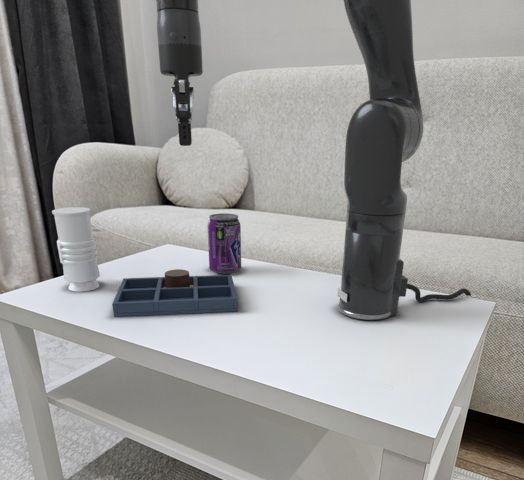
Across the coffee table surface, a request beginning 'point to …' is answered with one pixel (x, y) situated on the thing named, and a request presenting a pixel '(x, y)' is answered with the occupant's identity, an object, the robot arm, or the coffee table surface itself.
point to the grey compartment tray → (175, 296)
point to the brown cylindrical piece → (177, 278)
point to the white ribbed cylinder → (77, 248)
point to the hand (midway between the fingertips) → (185, 144)
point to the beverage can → (224, 243)
